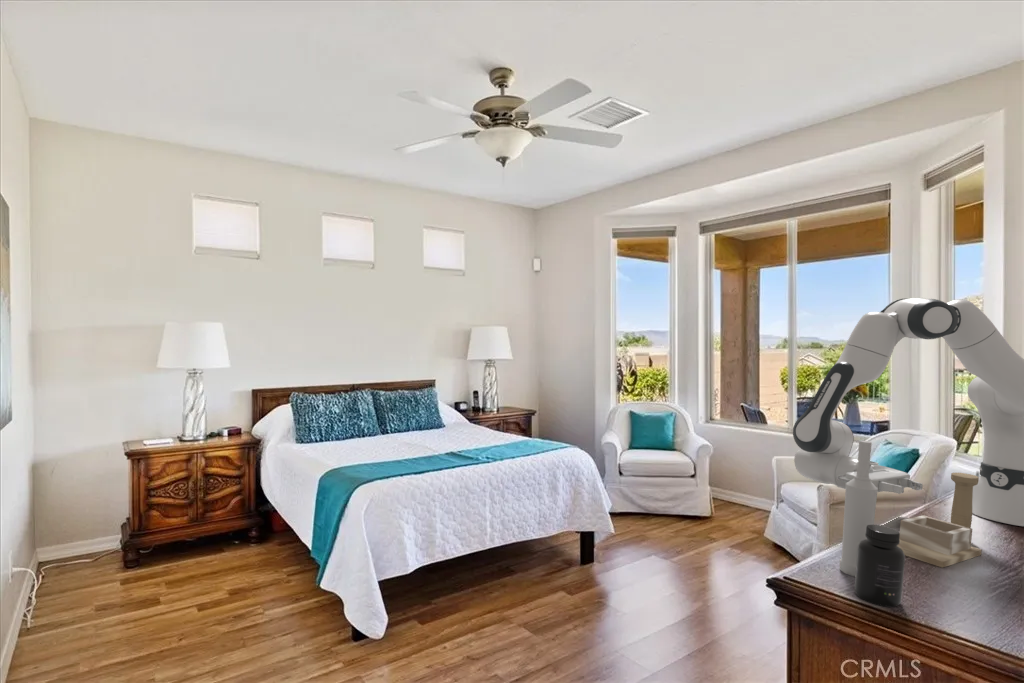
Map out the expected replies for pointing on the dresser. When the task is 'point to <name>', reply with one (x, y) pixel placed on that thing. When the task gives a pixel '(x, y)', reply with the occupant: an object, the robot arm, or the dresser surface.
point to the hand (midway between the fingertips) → (912, 488)
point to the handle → (963, 498)
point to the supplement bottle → (880, 567)
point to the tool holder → (936, 541)
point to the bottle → (857, 509)
